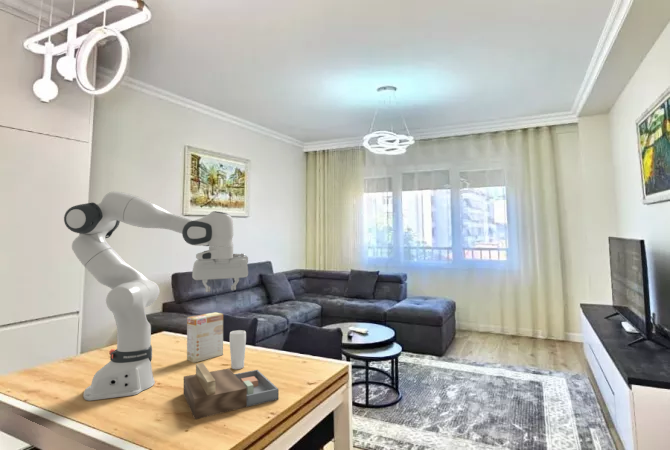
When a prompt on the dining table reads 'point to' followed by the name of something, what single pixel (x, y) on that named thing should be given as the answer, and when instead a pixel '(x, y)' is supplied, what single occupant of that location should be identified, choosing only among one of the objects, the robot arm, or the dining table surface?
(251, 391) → the sage tile
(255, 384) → the terracotta tile
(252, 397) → the box
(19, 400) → the dining table surface
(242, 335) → the drinking glass
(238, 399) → the walnut platform
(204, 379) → the bar
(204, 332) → the coffeecake box
